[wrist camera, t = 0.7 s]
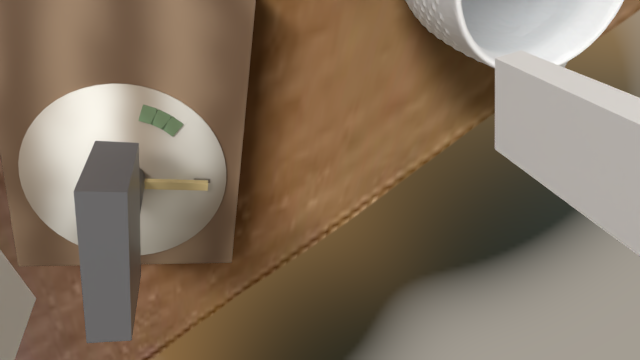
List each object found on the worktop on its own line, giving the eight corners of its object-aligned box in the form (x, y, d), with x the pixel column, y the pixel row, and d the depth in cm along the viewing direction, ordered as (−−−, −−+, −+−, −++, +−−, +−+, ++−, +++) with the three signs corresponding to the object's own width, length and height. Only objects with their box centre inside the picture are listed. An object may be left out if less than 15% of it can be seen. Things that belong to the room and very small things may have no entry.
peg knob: (113, 235, 36) (86, 343, 27) (107, 112, 32) (73, 191, 23) (204, 235, 38) (208, 335, 29) (211, 119, 34) (218, 194, 25)
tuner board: (33, 236, 39) (16, 269, 36) (-7, -57, 30) (-36, -53, 26) (228, 235, 44) (231, 265, 40) (250, -19, 34) (257, -11, 30)
